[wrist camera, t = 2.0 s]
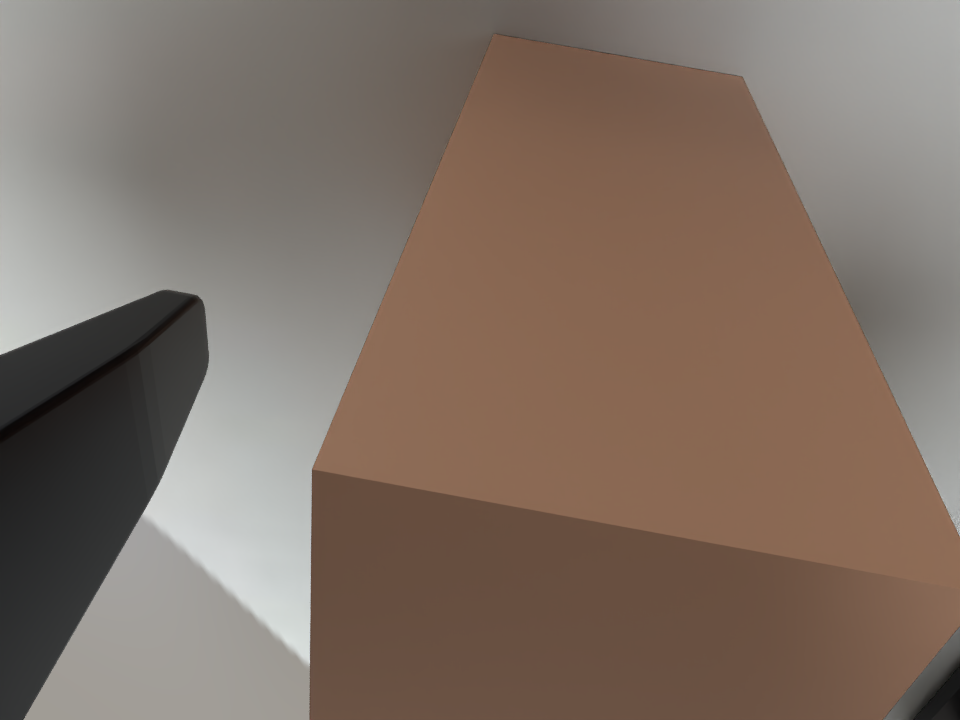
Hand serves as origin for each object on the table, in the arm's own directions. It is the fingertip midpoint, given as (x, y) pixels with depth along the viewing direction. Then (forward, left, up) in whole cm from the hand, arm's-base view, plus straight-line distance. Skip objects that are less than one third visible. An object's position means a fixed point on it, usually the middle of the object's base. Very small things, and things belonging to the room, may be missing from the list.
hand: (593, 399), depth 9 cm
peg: (0, 0, -6) cm, 6 cm away
